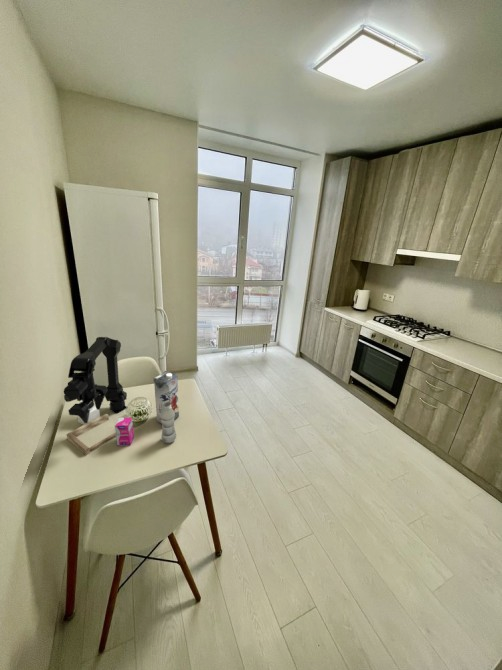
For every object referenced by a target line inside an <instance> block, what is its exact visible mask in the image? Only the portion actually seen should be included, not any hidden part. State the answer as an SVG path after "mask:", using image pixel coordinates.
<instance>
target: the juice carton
mask: <svg viewBox="0 0 502 670" xmlns="http://www.w3.org/2000/svg"><path fill="white" fill-rule="evenodd" d="M178 377H179V375H178V373H175V372H172V371H167V370H165V371H163V372H162V373H161V374H160V375H157V376H155V377H154V378H153V384H154V396H155V408H156V410H155V411H156V421H157V423H160V424H162V423H161V419H160V413H161V411H162V410H163V409H162V407H163V403H165V402H170V403H171V408H172V409H173V410H174V412H175V417H174V421H175V420H177V419H178V418H179V417H180V415H179V414H180V410H179V408H180V406H179V405H180V404H179V385H178V382H179V381H178Z"/></svg>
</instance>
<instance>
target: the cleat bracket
mask: <svg viewBox="0 0 502 670" xmlns="http://www.w3.org/2000/svg"><path fill="white" fill-rule="evenodd" d="M109 417H110V416H109V414H108V413H105V414H103V415H100V417H99V418H97V419H95V420H93V421H91V422H89V423H87V424H85V425H83V424H82V425H81V426H79V427H77V428H75V429H74V430H71V431H69V432H67V433H66V438H67V440H68V441H69V442H70V443H71V444H72V445H74V447H76V448H77V449H78V450H79V451H81V452H82V454H84V455H85V456H88V455H90V454H91V453H92V452H93V451H95V450H97V449H99V448H100V447H102V446H103V445H105V444H107V443H109V442H110V441H112V440H113V439H116V432H114V433H112V434H111V435H109V436H107V437H105V438H104V439H102V440H100V441H99V442H97V443H95V444H93V445H92V446H88V445H87V444H85V443H84V442H83V441H81V439H79V438H78V437H79V436H81V435H83V434H85V433H87V432H88V431H90V430H93V429H94V428H96V427H97V426H99V425H102V424H103V423H105V422H107V421H109V419H110V418H109Z"/></svg>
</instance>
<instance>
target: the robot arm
mask: <svg viewBox="0 0 502 670" xmlns="http://www.w3.org/2000/svg"><path fill="white" fill-rule="evenodd" d="M121 347H122V344H121V341H120V340H118V339H113V338H111V337H108V336H97V337H96V339H95V341H94V342H93V343H92V344H91V345H90V347H89V348H87V350H86V351H85V352H83V353H80V354H78V355H76V356H75V357H74V358H73V359H72V360H71V363H70V366H69V371H68V376H67V377H68V378H69V379H71V380H70V381H68V382H67V385H66V387H64V389H63V394H64V395H63V397H64V401H65V402H66V403H69V402H72V401H78V402H80V401H81V400H82V401H83V403H81V404H79V403H75V404H73V406H71V407H70V408H69V409H68V414H69V416H77V415H78V416H79V417H80V418H81V419H82V420H83V421H84V423H87V422H88V419H89V413H90V410H89V406H88V405H89V404H90V403H91V402H92V401H93V400H94V406H96V408H97V410H99V411H100V409H101V406H102V404H103V402H104V399H105V401H106V402H109V410H110V411H111V412H112V413H115V414H118V413H120V412H122V411H124V410H127V408H126V407H127V405H126V401H125V400H127V396H128V394H127V392H126V391H125V390H124V387H123V385H122V384H121V383H120V382H119V381H120V379H119V365H118V356H119V354H120V352H121ZM101 353H102V355H103V356H105V358H106V369H107V371H106V372H107V386H106V385H99V384H96V382H95V377H94V372H95V370H96V369H95V367H96V360H97V358H98V357H99V356H100V354H101Z"/></svg>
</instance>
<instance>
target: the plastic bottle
mask: <svg viewBox="0 0 502 670" xmlns="http://www.w3.org/2000/svg"><path fill="white" fill-rule="evenodd" d="M162 409H163V410H162V411H161V413H160V419H161V423H160V424H161V435H160V436H161V441H162V442H163V443H164V444H172V443H174V442H175V440H176V439H177V432H176V430H175V429H176V428H175V420H174V417H175V412H174V410H173V409H172V408H171V403H170V402H165V403H163V407H162Z"/></svg>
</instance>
